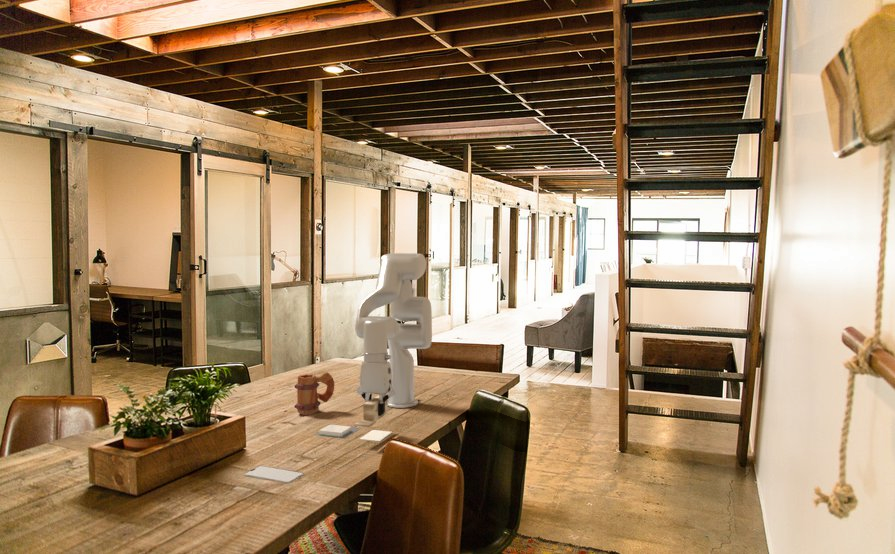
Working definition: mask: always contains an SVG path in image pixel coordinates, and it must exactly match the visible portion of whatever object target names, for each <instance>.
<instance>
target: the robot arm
mask: <svg viewBox="0 0 895 554" xmlns="http://www.w3.org/2000/svg"><path fill="white" fill-rule="evenodd" d="M379 263H380V265H379V269H378V270H379V271H378V274H377V275H378V276H377V281H376V285H375V290H374V291H373V292H371V293H370V294H369V295H367V297H366V298H365V299H364V300H363V301H362V302H361V303H360V305H359V308H358V310H357V314H356V319H355V324H354V326H355V327H354V330H355V335H356V336H357V337H358V338H360V339H363V361H362V363H361V367H360V372H359V373H360V374H359V385H358V388H357V390H356V393H357V395H359V396H361V397H362V398H363V399H364V403H366V402H368V401H370V400H371V399H373V394H374V395H375V394H377V395H379V404H378V415H379V416H381V415H383V414H384V412H385V402H386V401H387V404H388V407H390V408H396V409H398V408H399V409H401V408H402V409H406V408H411V407H412V408H413V407H416V406H417V405H418V404H419V401H418V400H417V399H416V398H415V394H416V390H415V377H414V376H415V372H414V371H415V370H414V369H415V366H414V365H415V360H414V356H413V355H412V353H411V352H410V351H409V350H410V349H412V350H413V349H415V350H417V349H419V350H425V349H428V348H430V347H431V345H432V342H433V341H432V339H433V328H432V327H433V320H432V319H433V318H432V315H433V313H432V303H431V301H430V299H429V298H428V297H427V296H414V295H413V284H412V281H417V280H419V279H420V278H421V277H423V275H424V274H425V272H426V269H427V260H426V257H425V256H424V254H423V253H412V252H411V253H410V252H409V253H405V252H404V253H401V252H400V253H397V252H396V253H394V252H392V253H386V254H383V255H381V257H380V260H379ZM389 304H390V305H389ZM387 305H389V306H390V307H389V308H390V315H391V316H379V315H378V316H372V315H371V316H370V314H371V313H372V312H373V311H375V310H376V309H379V308H382V307H384V306H387ZM398 321H399V322H403V321H404V322H418V323H419V324H416V323H414V324H413V323H399V322H398ZM408 349H409V350H408ZM388 360H389V361H388Z"/></svg>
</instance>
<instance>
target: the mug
mask: <svg viewBox="0 0 895 554" xmlns="http://www.w3.org/2000/svg"><path fill="white" fill-rule="evenodd" d="M320 383H322V384H324V385H326V390H325V391H324V392H323V393H319V392H318V388H319V386H320ZM294 388H295V389H296V390H297V392H296V393H297V398H296V399H297V400H296V401H297V403H296V404H294V408H295V409H296V410H297V413H298V414H300V415H302V416H309V415H313V414H316V413H317V412H319V410H320V409H319V407H320V405H321V401H322V402H323V403H328V401H329V400H330V399H331V397H332V396H333V395H334V391H335V381H334V378H333V377H332V375H331V374H330V373H329V372H328V371H325V372H323V373H321V374H320V375H318V376H316V375H315V374H300V375H298V376H297V383H296V384H295V385H294ZM319 400H320V401H319Z"/></svg>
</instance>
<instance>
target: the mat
mask: <svg viewBox="0 0 895 554" xmlns="http://www.w3.org/2000/svg"><path fill="white" fill-rule="evenodd" d="M350 427H351V432H349V433H347V434H346V435H344V436H343V437H333V436H324V435H319V432H317V433H315V434H314V436H318V437H326V438H335V439H336V438H338V439H346V438H348V437H349V436H351V435H353V434H354V433H356V432H357V431H358V430H360V429H361V427H358V426H350Z"/></svg>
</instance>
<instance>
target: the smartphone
mask: <svg viewBox="0 0 895 554" xmlns="http://www.w3.org/2000/svg"><path fill="white" fill-rule="evenodd" d="M304 475H305V474H304V472H299V471H295V470H289V469H283V468H277V467H273V466H272V467H271V466H266V465H259V466H257V467H255V468H253V469H250V470H248V471H246V472H245V473H244V474H243V476H245V477H248V478H255V479H262V480H266V481H273V482H277V481H278V483H283V482H284V483H285V484H289V483H292V482H294V481H295V480H297V479H299V478H300V477H302V476H304Z"/></svg>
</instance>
